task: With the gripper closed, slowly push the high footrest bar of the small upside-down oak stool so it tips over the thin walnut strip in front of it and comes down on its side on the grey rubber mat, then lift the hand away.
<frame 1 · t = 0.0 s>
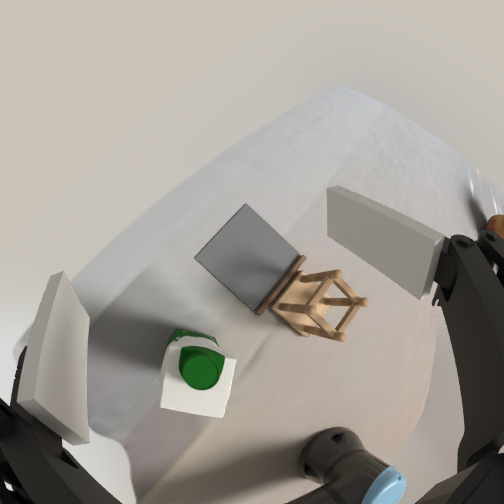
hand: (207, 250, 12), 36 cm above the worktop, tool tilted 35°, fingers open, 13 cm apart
mat: (249, 256, 50), on the worktop
butternut squash: (486, 236, 74), on the worktop
milk carton: (191, 352, 45), on the worktop
strip: (280, 284, 50), on the worktop
stool: (301, 304, 51), on the worktop
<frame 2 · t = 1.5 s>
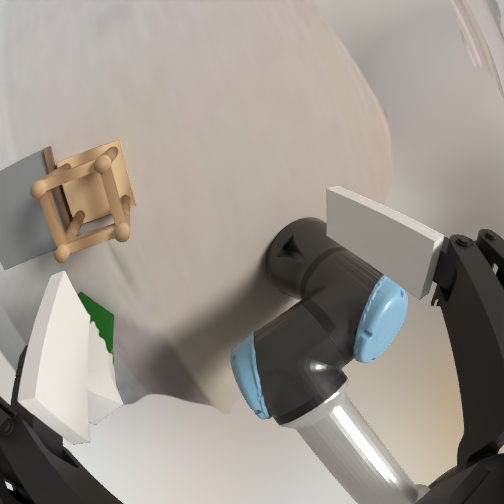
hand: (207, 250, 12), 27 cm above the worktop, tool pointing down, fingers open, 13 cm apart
mat: (18, 214, 27), on the worktop
milk carton: (87, 315, 38), on the worktop
strip: (60, 195, 29), on the worktop
stool: (97, 181, 31), on the worktop
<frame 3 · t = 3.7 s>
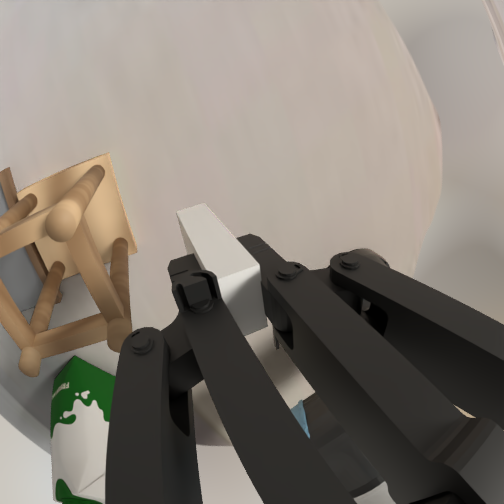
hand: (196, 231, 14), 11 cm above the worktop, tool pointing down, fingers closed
milk carton: (85, 378, 28), on the worktop
strip: (29, 237, 19), on the worktop
stool: (77, 216, 20), on the worktop
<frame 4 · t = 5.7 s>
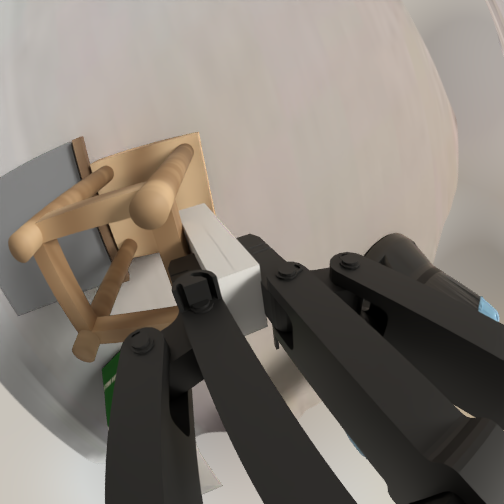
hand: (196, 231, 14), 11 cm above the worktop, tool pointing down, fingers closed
mat: (33, 239, 19), on the worktop
milk carton: (137, 365, 31), on the worktop
strip: (100, 211, 21), on the worktop
stool: (157, 195, 22), point 1 cm above the worktop, tilted 16°, touching gripper
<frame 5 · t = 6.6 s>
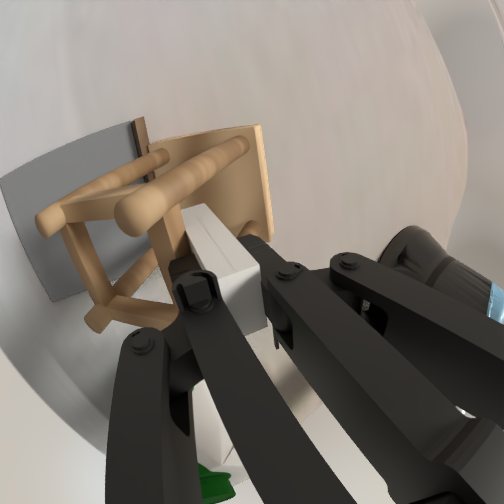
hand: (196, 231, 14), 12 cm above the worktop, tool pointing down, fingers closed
mat: (79, 219, 21), on the worktop
milk carton: (175, 352, 32), on the worktop
strip: (156, 192, 23), on the worktop
stool: (215, 183, 22), point 3 cm above the worktop, tilted 39°, touching gripper, strip
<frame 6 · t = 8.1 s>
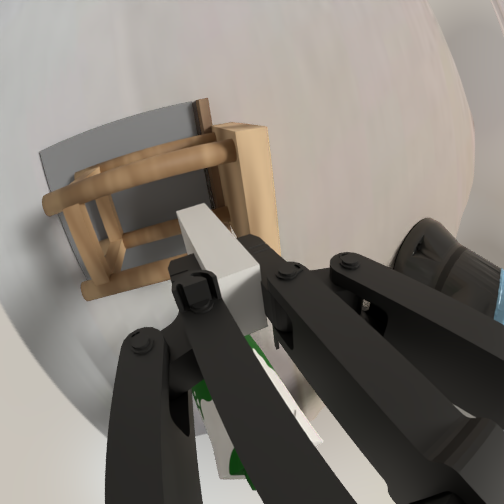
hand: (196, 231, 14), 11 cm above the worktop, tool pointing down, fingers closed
mat: (130, 197, 22), on the worktop
milk carton: (212, 338, 33), on the worktop
strip: (212, 173, 24), on the worktop
stool: (253, 183, 20), point 6 cm above the worktop, tilted 97°, touching mat, strip
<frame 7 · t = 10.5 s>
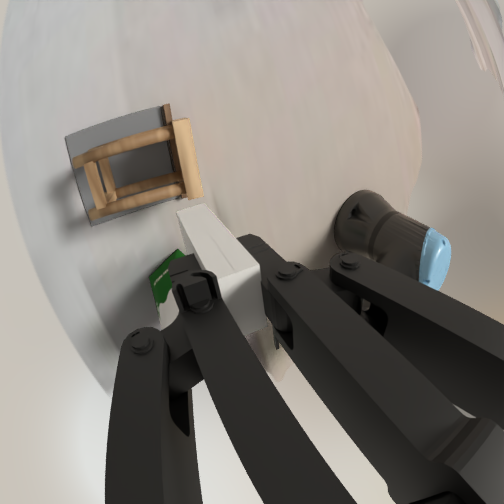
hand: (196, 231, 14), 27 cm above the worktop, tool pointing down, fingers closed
mat: (121, 166, 33), on the worktop
milk carton: (177, 274, 45), on the worktop
strip: (174, 150, 36), on the worktop
stool: (192, 152, 31), point 6 cm above the worktop, tilted 97°, touching mat, strip
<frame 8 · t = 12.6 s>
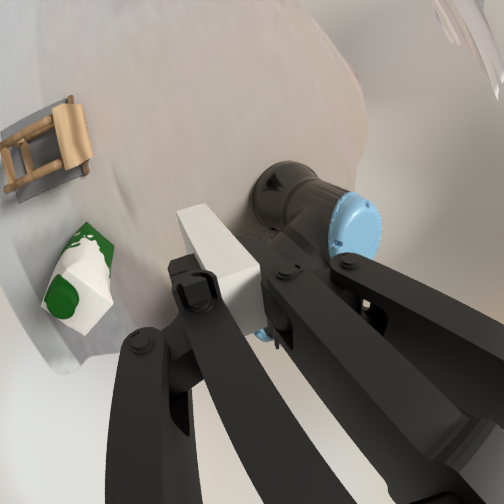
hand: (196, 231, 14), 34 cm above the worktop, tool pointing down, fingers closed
mat: (39, 151, 32), on the worktop
milk carton: (89, 246, 44), on the worktop
strip: (78, 134, 34), on the worktop
stool: (79, 132, 30), point 6 cm above the worktop, tilted 97°, touching mat, strip
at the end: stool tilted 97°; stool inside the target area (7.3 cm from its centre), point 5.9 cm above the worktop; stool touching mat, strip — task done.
